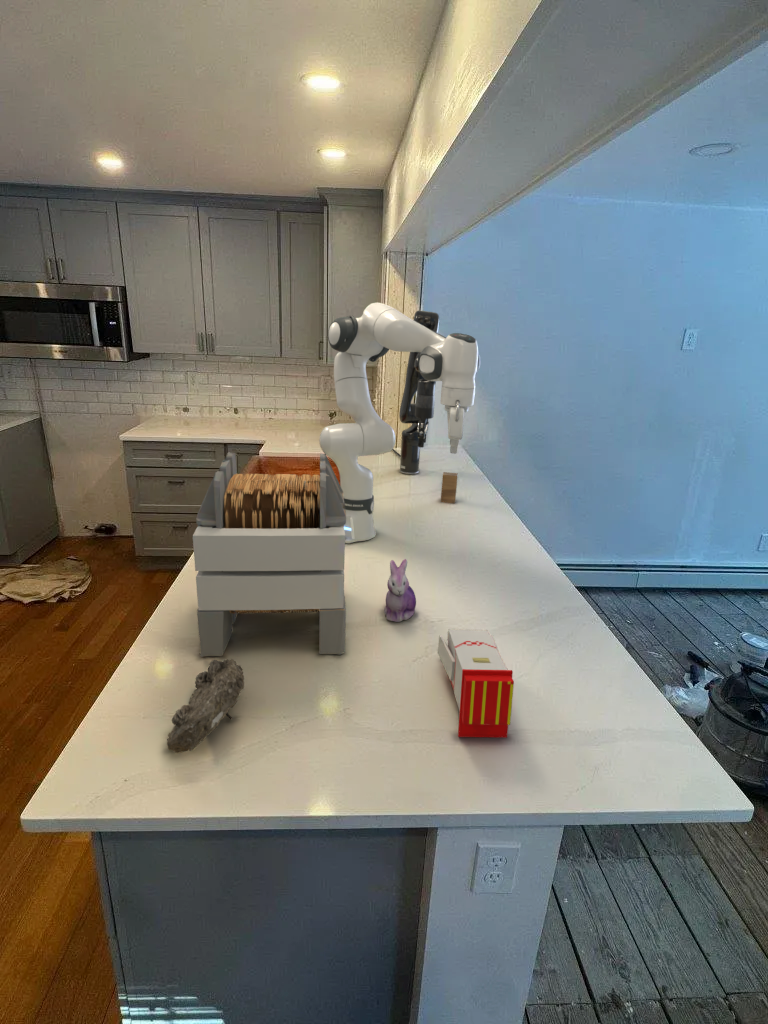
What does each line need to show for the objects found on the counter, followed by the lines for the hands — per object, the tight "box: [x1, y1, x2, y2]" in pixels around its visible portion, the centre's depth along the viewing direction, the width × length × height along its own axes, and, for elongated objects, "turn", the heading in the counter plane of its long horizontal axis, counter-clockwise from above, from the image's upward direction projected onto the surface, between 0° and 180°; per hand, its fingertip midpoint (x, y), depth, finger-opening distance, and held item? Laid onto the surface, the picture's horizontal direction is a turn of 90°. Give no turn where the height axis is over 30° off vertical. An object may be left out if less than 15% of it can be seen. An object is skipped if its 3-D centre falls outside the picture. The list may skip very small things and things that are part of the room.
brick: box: [440, 471, 459, 504], centre depth 234 cm, size 4×6×12 cm
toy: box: [437, 628, 515, 738], centre depth 117 cm, size 12×13×30 cm
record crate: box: [192, 452, 347, 658], centre depth 136 cm, size 34×33×41 cm
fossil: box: [166, 658, 245, 754], centre depth 106 cm, size 22×10×15 cm
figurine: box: [384, 558, 417, 623], centre depth 145 cm, size 9×10×15 cm
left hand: (453, 448), depth 155 cm, fingers open, 8 cm apart
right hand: (421, 444), depth 234 cm, fingers open, 8 cm apart
